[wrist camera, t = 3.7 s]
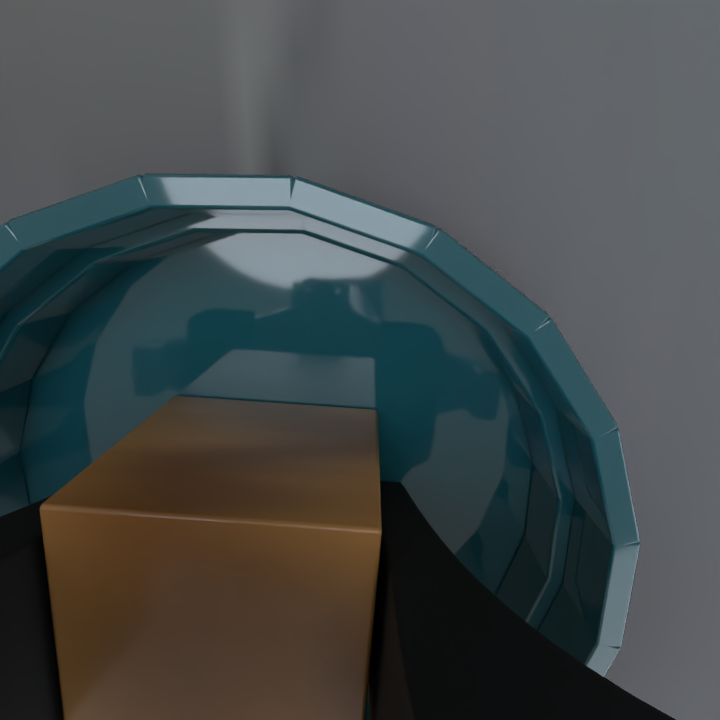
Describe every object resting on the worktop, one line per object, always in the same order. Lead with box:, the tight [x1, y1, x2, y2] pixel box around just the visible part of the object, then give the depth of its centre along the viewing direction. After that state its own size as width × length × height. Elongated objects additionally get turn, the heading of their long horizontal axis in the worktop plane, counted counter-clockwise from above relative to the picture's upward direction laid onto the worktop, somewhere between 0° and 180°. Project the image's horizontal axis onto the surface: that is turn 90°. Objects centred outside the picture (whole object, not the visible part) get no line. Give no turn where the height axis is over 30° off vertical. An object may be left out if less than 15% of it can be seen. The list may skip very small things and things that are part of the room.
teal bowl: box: [0, 174, 640, 720], centre depth 10 cm, size 13×13×4 cm
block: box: [40, 396, 382, 720], centre depth 9 cm, size 4×4×4 cm
